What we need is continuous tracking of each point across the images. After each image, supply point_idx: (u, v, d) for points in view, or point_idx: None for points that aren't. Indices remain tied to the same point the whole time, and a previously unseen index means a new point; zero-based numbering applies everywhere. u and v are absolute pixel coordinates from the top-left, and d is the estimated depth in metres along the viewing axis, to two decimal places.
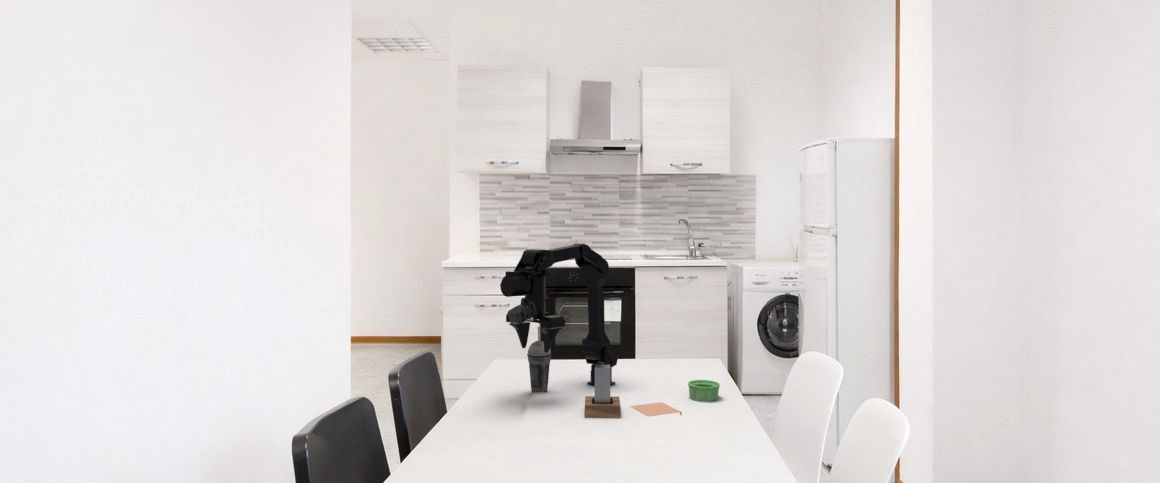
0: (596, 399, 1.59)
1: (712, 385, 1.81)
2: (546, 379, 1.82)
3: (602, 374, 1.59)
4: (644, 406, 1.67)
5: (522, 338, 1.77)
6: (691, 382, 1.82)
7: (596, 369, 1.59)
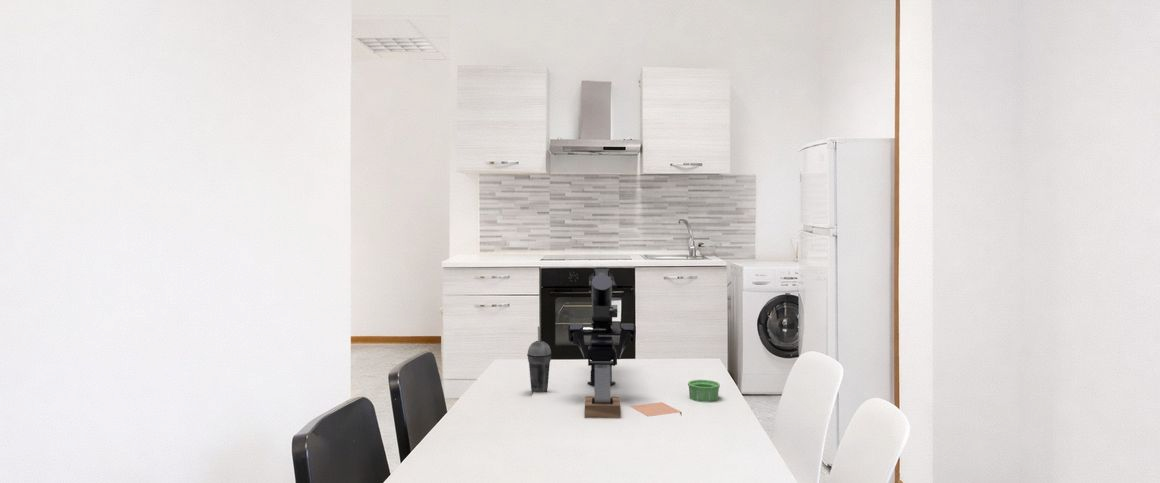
0: (596, 399, 1.59)
1: (712, 385, 1.81)
2: (546, 379, 1.82)
3: (602, 374, 1.59)
4: (644, 406, 1.67)
5: None
6: (691, 382, 1.82)
7: (596, 369, 1.59)
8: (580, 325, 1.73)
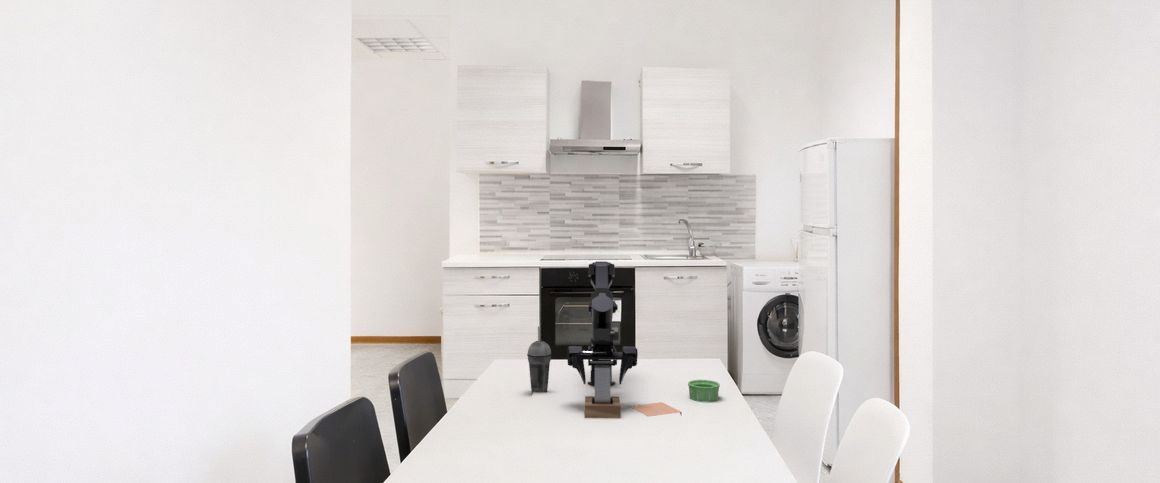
0: (596, 399, 1.59)
1: (712, 385, 1.81)
2: (546, 379, 1.82)
3: (602, 374, 1.59)
4: (644, 406, 1.67)
5: (584, 373, 1.63)
6: (691, 382, 1.82)
7: (596, 369, 1.59)
8: (580, 348, 1.66)
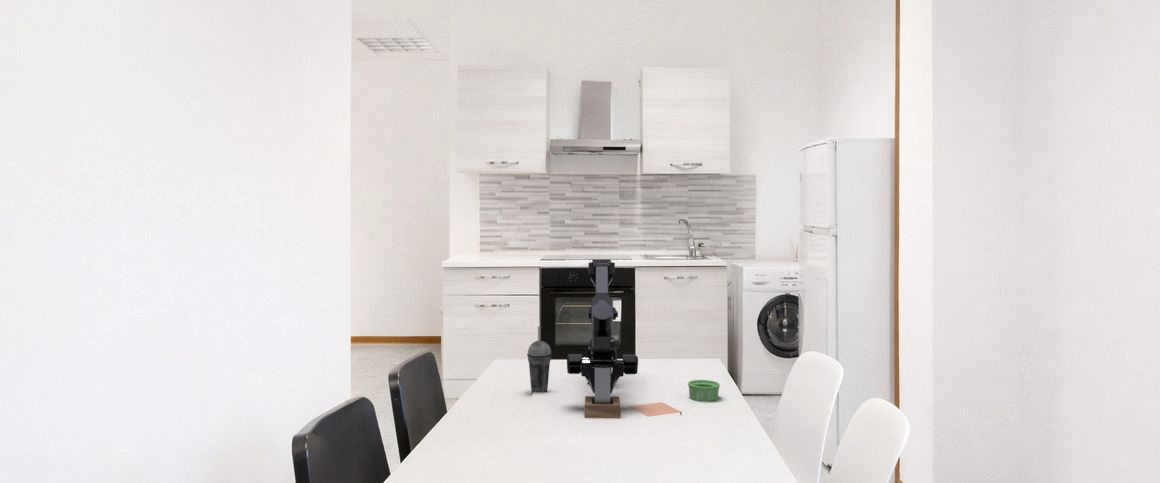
0: (596, 399, 1.59)
1: (712, 385, 1.81)
2: (546, 379, 1.82)
3: (602, 374, 1.59)
4: (644, 406, 1.67)
5: (594, 381, 1.61)
6: (691, 382, 1.82)
7: (596, 369, 1.59)
8: (579, 356, 1.64)
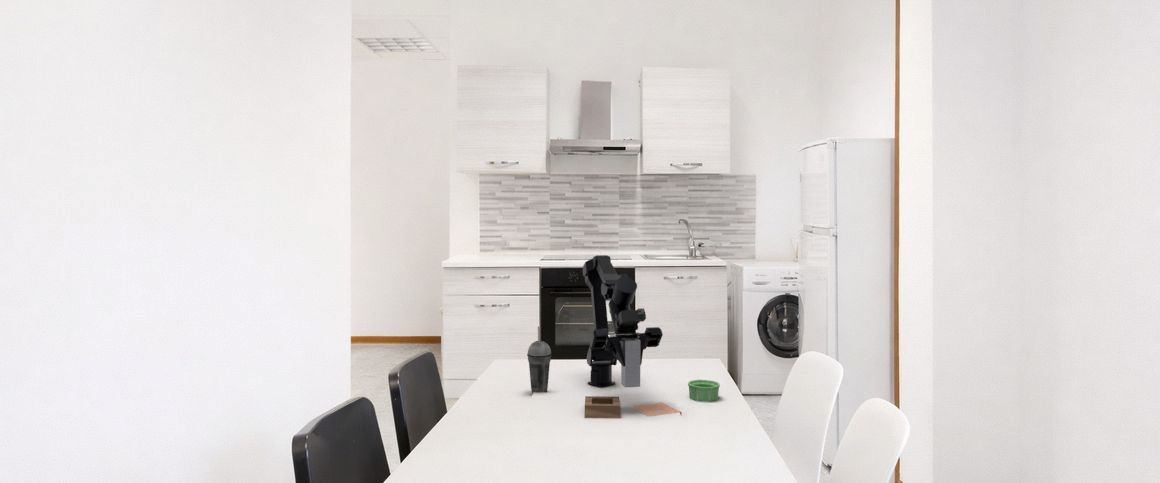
0: (627, 372, 1.60)
1: (712, 385, 1.81)
2: (546, 379, 1.82)
3: (632, 346, 1.60)
4: (644, 406, 1.67)
5: None
6: (691, 382, 1.82)
7: (627, 342, 1.60)
8: (606, 331, 1.63)
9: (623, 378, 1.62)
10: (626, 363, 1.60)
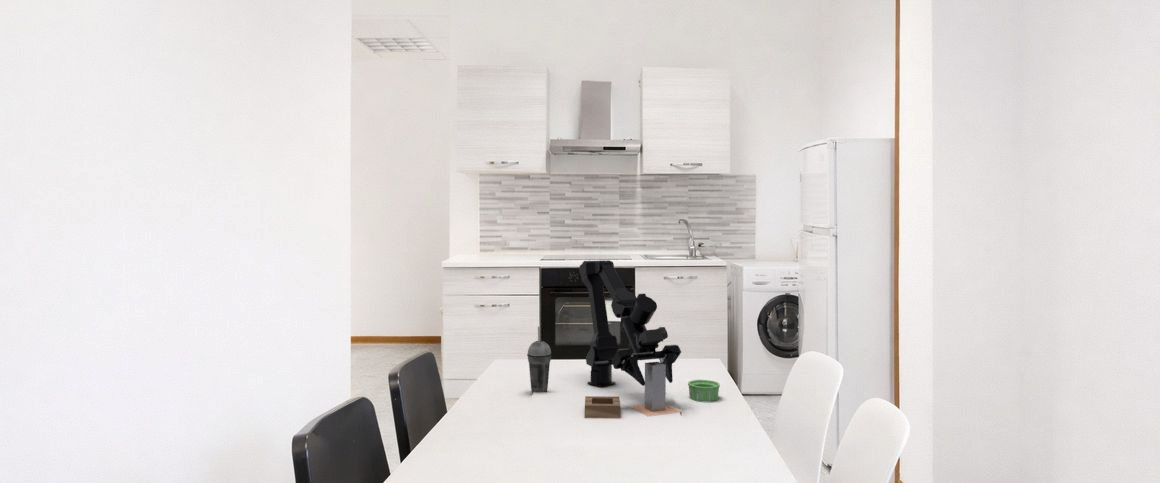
0: (653, 396, 1.62)
1: (712, 385, 1.81)
2: (546, 379, 1.82)
3: (658, 371, 1.63)
4: (644, 406, 1.67)
5: None
6: (691, 382, 1.82)
7: (653, 367, 1.62)
8: (630, 350, 1.64)
9: (648, 402, 1.64)
10: (653, 388, 1.62)
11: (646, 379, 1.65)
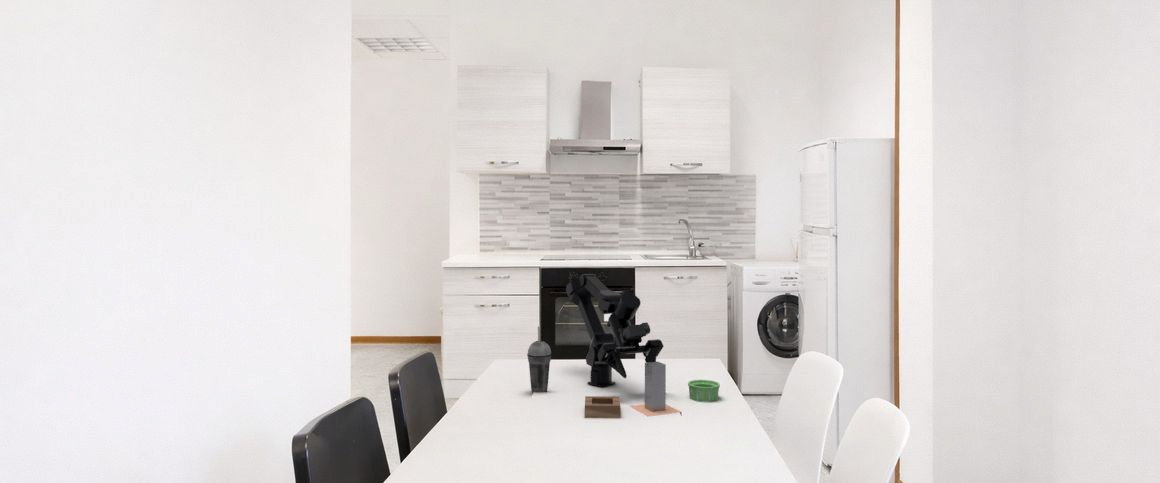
0: (653, 396, 1.62)
1: (712, 385, 1.81)
2: (546, 379, 1.82)
3: (658, 371, 1.63)
4: (644, 406, 1.67)
5: None
6: (691, 382, 1.82)
7: (653, 367, 1.62)
8: (615, 345, 1.73)
9: (648, 402, 1.64)
10: (653, 388, 1.62)
11: (646, 379, 1.65)
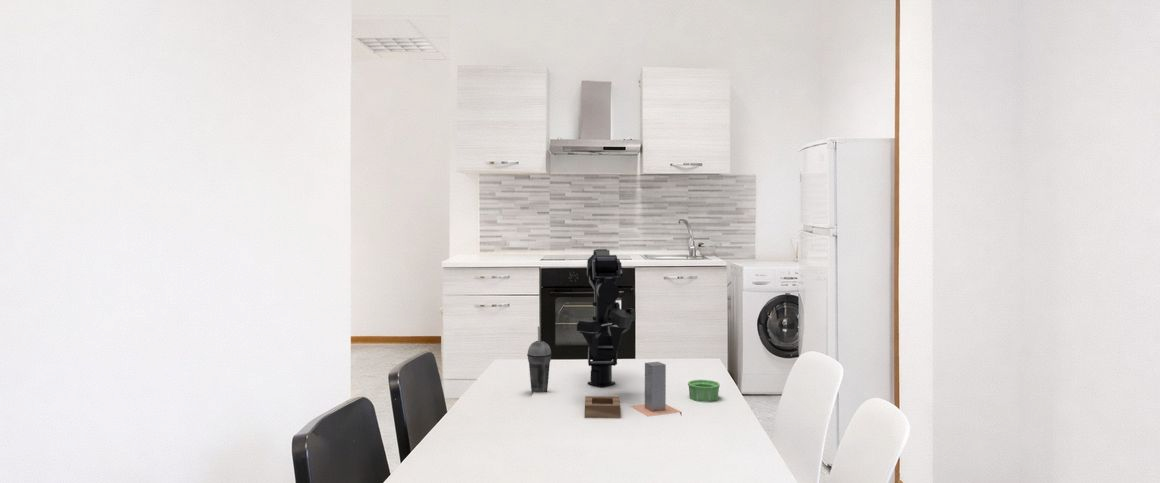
0: (653, 396, 1.62)
1: (712, 385, 1.81)
2: (546, 379, 1.82)
3: (658, 371, 1.63)
4: (644, 406, 1.67)
5: None
6: (691, 382, 1.82)
7: (653, 367, 1.62)
8: (600, 326, 1.72)
9: (648, 402, 1.64)
10: (653, 388, 1.62)
11: (646, 379, 1.65)
